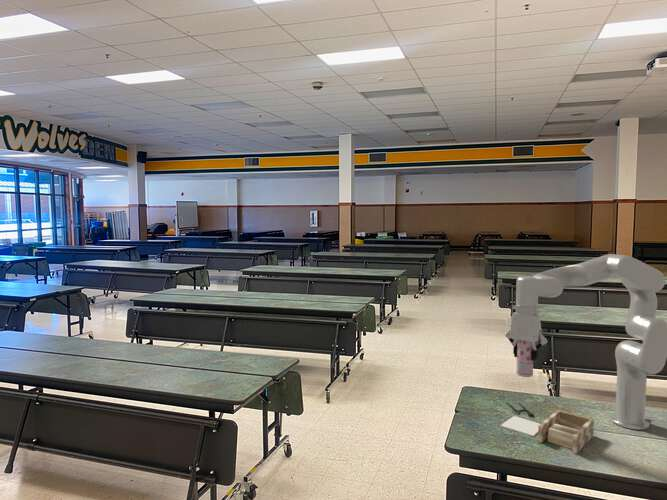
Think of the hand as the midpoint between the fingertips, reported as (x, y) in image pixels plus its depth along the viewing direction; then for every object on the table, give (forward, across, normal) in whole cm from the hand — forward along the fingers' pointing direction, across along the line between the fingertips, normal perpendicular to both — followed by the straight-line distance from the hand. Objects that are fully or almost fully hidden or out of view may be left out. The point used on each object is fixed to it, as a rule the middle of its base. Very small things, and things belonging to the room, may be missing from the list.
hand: (525, 357), depth 175 cm
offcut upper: (+24, +15, -3) cm, 29 cm away
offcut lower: (+27, +15, -3) cm, 31 cm away
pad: (+26, 0, 0) cm, 26 cm away
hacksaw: (+27, -12, +17) cm, 34 cm away
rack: (+26, +15, 0) cm, 30 cm away
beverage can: (+7, 0, 0) cm, 7 cm away
